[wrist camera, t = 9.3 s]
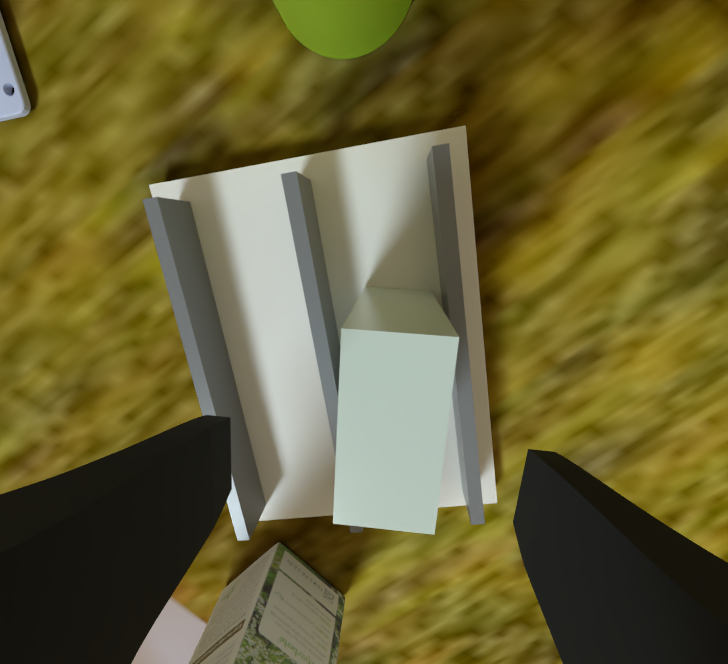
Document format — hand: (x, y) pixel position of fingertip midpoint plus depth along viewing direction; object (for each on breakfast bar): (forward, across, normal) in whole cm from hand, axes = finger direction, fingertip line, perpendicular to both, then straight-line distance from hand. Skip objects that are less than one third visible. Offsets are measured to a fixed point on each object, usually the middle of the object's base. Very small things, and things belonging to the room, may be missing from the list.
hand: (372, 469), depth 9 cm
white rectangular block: (+9, 0, 0) cm, 9 cm away
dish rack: (+10, +2, 0) cm, 11 cm away
